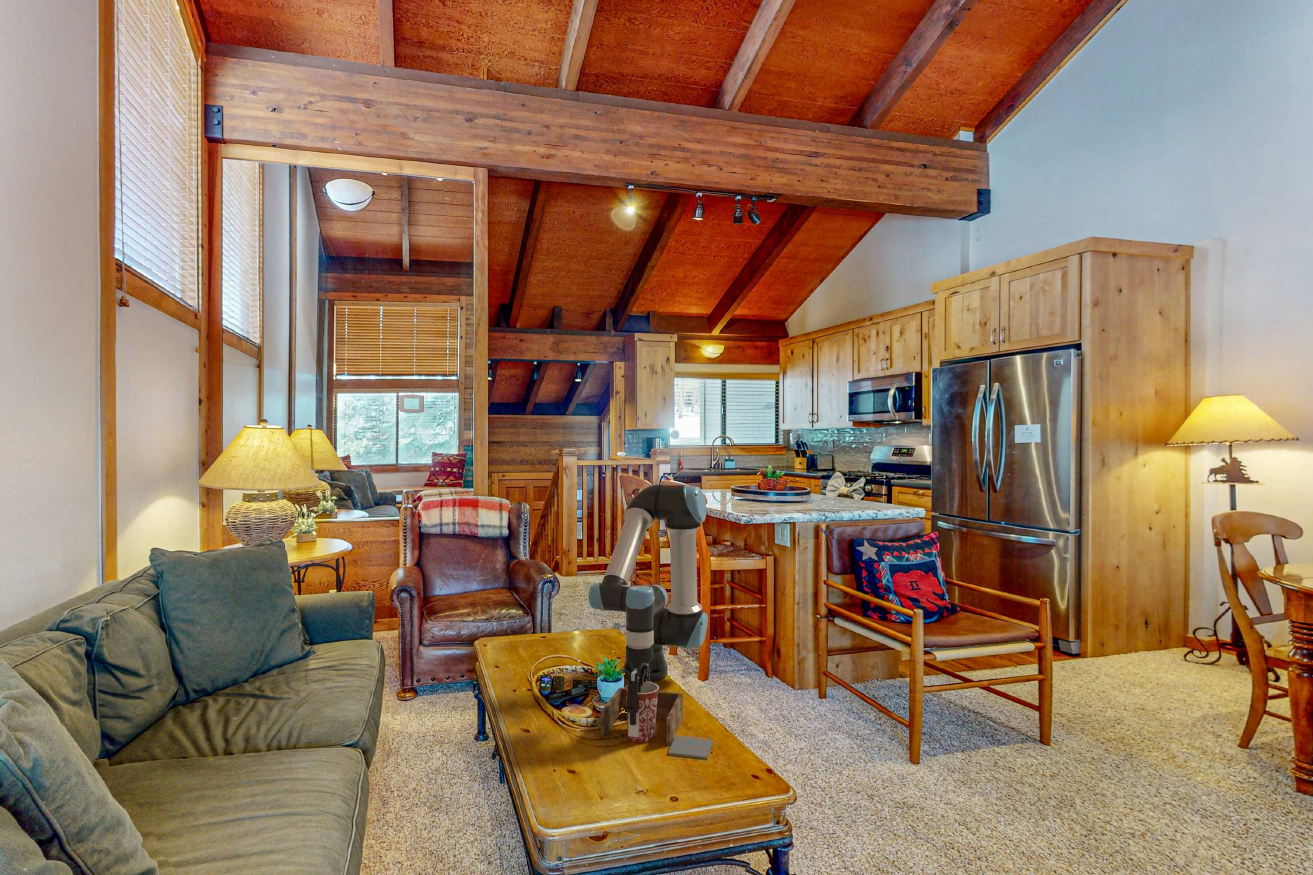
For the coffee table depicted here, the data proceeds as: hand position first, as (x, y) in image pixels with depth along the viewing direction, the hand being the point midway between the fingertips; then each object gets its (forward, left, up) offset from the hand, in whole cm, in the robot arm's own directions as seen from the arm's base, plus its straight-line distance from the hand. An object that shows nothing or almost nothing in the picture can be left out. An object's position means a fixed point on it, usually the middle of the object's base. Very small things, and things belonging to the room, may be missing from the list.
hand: (638, 727), depth 184 cm
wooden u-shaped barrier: (-5, 0, -2) cm, 5 cm away
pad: (+4, +15, -2) cm, 16 cm away
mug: (-1, 0, -2) cm, 2 cm away
